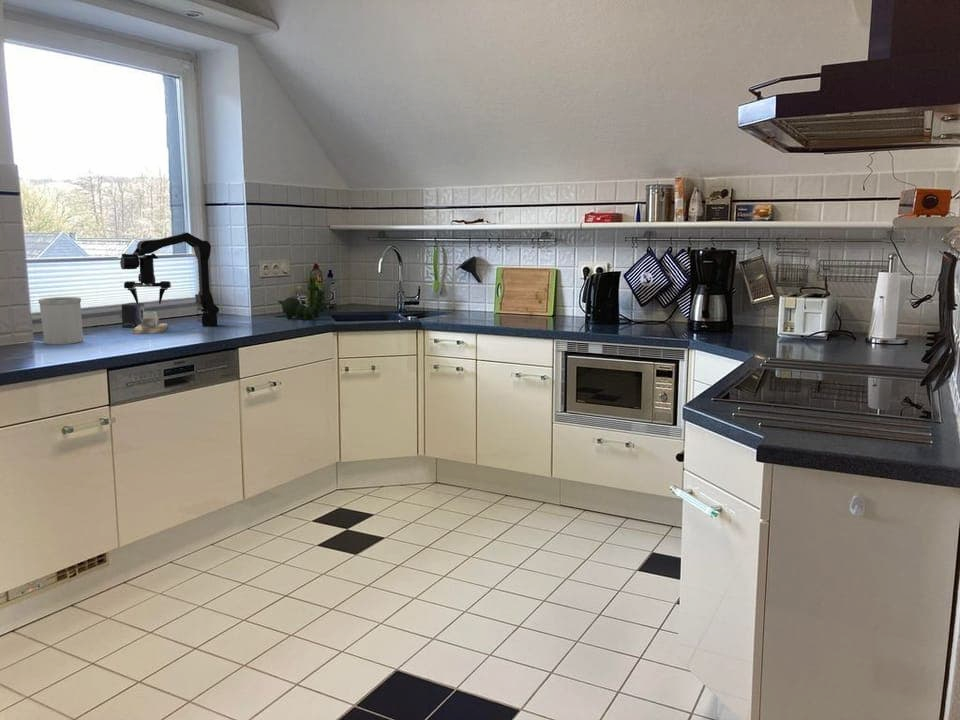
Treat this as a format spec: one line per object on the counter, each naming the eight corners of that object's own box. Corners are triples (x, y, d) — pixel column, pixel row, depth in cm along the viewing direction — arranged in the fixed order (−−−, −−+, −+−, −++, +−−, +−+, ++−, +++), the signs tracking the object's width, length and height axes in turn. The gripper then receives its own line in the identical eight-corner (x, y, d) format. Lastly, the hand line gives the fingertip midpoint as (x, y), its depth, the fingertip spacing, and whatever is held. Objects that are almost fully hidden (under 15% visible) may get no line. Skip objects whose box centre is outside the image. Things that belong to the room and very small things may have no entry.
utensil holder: (55, 345, 297) (51, 300, 295) (34, 342, 305) (30, 298, 302) (91, 341, 310) (88, 298, 307) (70, 338, 318) (67, 296, 315)
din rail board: (167, 326, 357) (166, 314, 356) (162, 332, 336) (161, 320, 335) (139, 327, 354) (138, 315, 353) (132, 333, 333) (131, 320, 332)
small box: (135, 327, 353) (134, 304, 351) (121, 327, 353) (120, 304, 352) (146, 324, 364) (144, 302, 362) (132, 324, 364) (131, 302, 362)
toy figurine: (325, 322, 394) (281, 316, 399) (328, 285, 390) (283, 279, 396) (317, 324, 385) (272, 318, 390) (319, 287, 381) (274, 281, 387)
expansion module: (157, 324, 348) (156, 311, 347) (155, 326, 342) (154, 312, 341) (145, 324, 347) (144, 311, 346) (143, 326, 341) (142, 312, 340)
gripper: (171, 268, 351) (172, 302, 353) (126, 268, 345) (128, 302, 348) (168, 269, 340) (170, 304, 343) (122, 269, 335) (125, 305, 337)
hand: (148, 304), depth 343 cm, fingers open, 9 cm apart
